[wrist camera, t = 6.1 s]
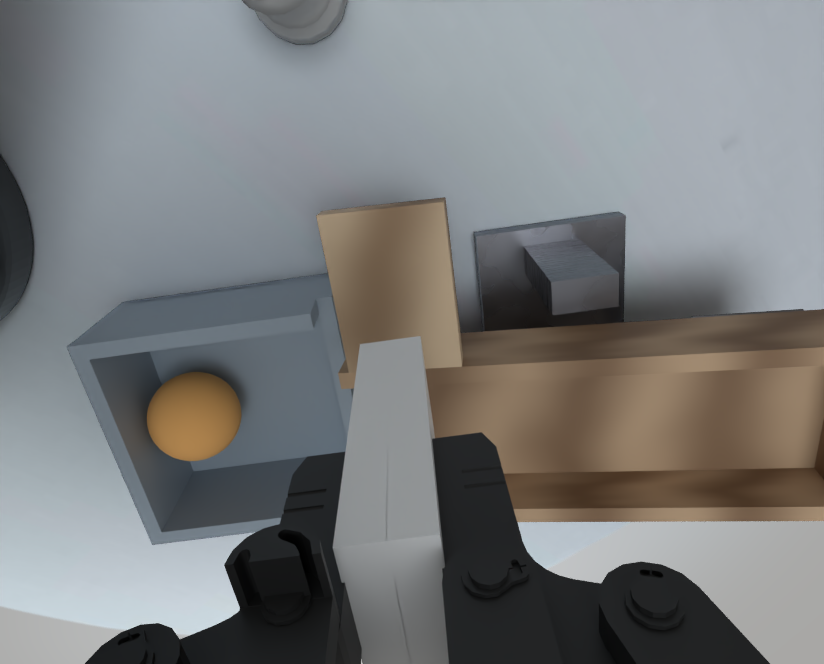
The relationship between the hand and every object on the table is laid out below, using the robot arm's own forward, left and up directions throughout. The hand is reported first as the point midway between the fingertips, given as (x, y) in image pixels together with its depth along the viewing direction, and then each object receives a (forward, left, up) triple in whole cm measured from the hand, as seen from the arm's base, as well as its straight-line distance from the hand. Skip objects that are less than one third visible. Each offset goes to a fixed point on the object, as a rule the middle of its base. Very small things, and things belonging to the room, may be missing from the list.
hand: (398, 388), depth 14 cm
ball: (-13, -9, -15) cm, 22 cm away
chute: (+9, -5, -14) cm, 17 cm away
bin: (-10, -9, -18) cm, 22 cm away
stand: (+8, -9, -18) cm, 22 cm away
